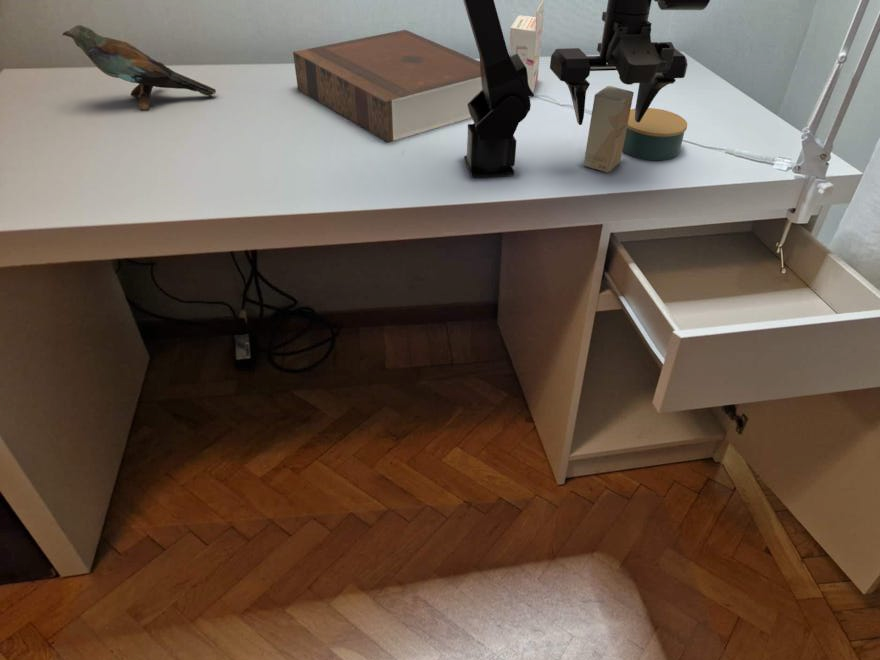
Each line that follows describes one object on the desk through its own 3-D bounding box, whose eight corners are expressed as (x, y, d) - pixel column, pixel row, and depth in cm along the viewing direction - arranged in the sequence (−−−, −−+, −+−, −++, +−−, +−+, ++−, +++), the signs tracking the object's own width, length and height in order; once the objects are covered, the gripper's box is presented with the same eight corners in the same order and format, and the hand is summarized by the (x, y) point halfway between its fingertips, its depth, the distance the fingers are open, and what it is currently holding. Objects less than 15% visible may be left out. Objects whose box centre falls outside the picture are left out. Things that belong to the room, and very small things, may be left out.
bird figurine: (216, 80, 124) (126, -23, 110) (218, 101, 117) (122, -6, 103) (159, 123, 126) (62, 26, 112) (158, 146, 119) (55, 47, 105)
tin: (631, 162, 108) (636, 135, 105) (607, 135, 116) (612, 109, 113) (691, 159, 110) (698, 131, 107) (664, 132, 118) (670, 106, 115)
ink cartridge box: (512, 79, 134) (518, -4, 124) (537, 82, 133) (546, -1, 124) (505, 94, 128) (510, 8, 118) (531, 98, 127) (539, 11, 117)
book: (387, 142, 110) (385, 101, 105) (297, 89, 125) (293, 51, 121) (500, 109, 122) (502, 71, 118) (406, 64, 138) (405, 29, 133)
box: (607, 173, 105) (620, 101, 97) (582, 166, 106) (593, 94, 99) (621, 161, 108) (635, 90, 101) (596, 154, 110) (608, 84, 103)
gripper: (582, 28, 85) (566, 148, 95) (719, 26, 89) (689, 142, 99) (555, 3, 93) (543, 117, 103) (681, 2, 97) (657, 112, 107)
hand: (608, 122), depth 103 cm, fingers open, 9 cm apart
